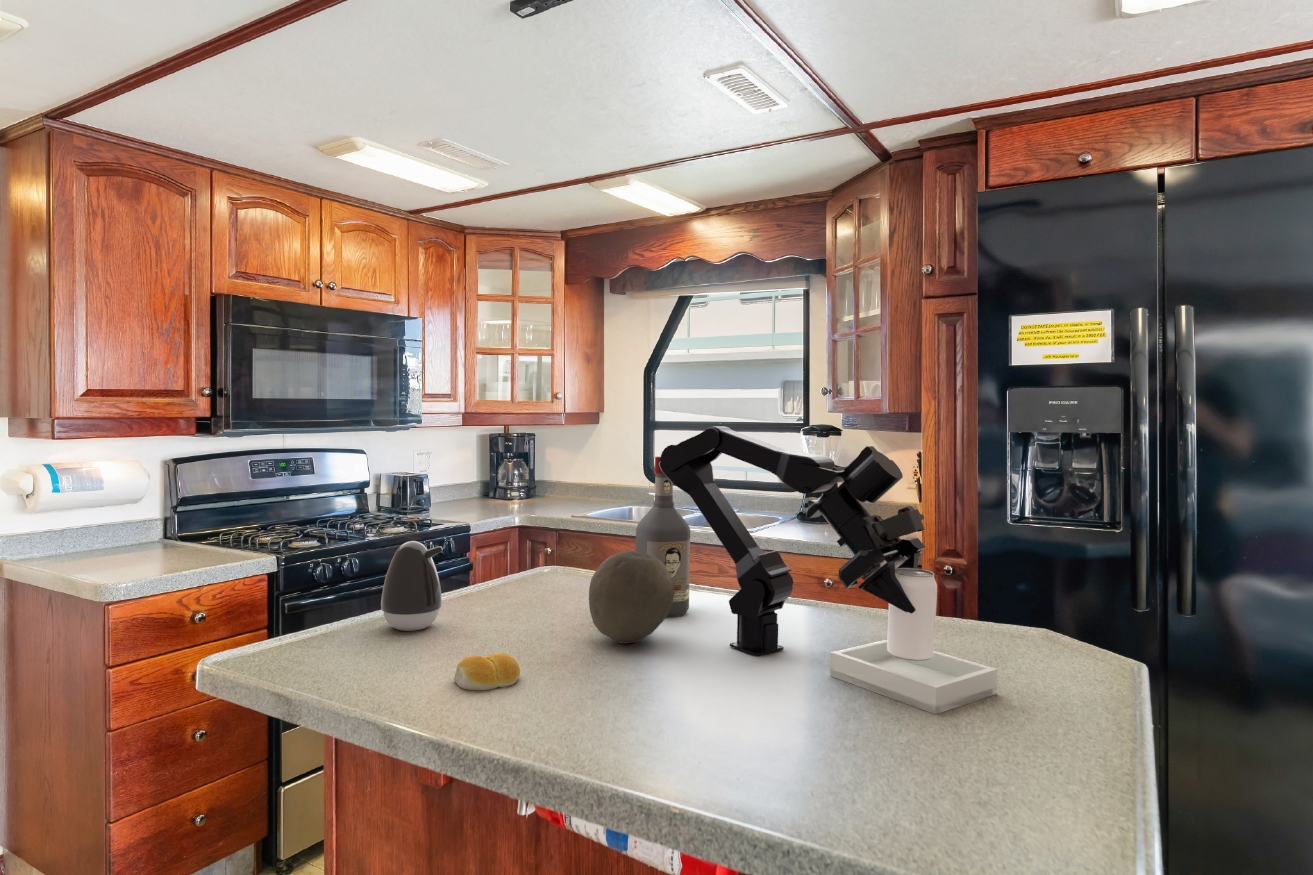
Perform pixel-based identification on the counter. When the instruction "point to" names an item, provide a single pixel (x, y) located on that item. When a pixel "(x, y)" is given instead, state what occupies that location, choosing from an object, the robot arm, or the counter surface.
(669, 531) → the liquor
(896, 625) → the can
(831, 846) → the counter surface
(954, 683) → the tray
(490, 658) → the bread roll
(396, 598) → the pump dispenser
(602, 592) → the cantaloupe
